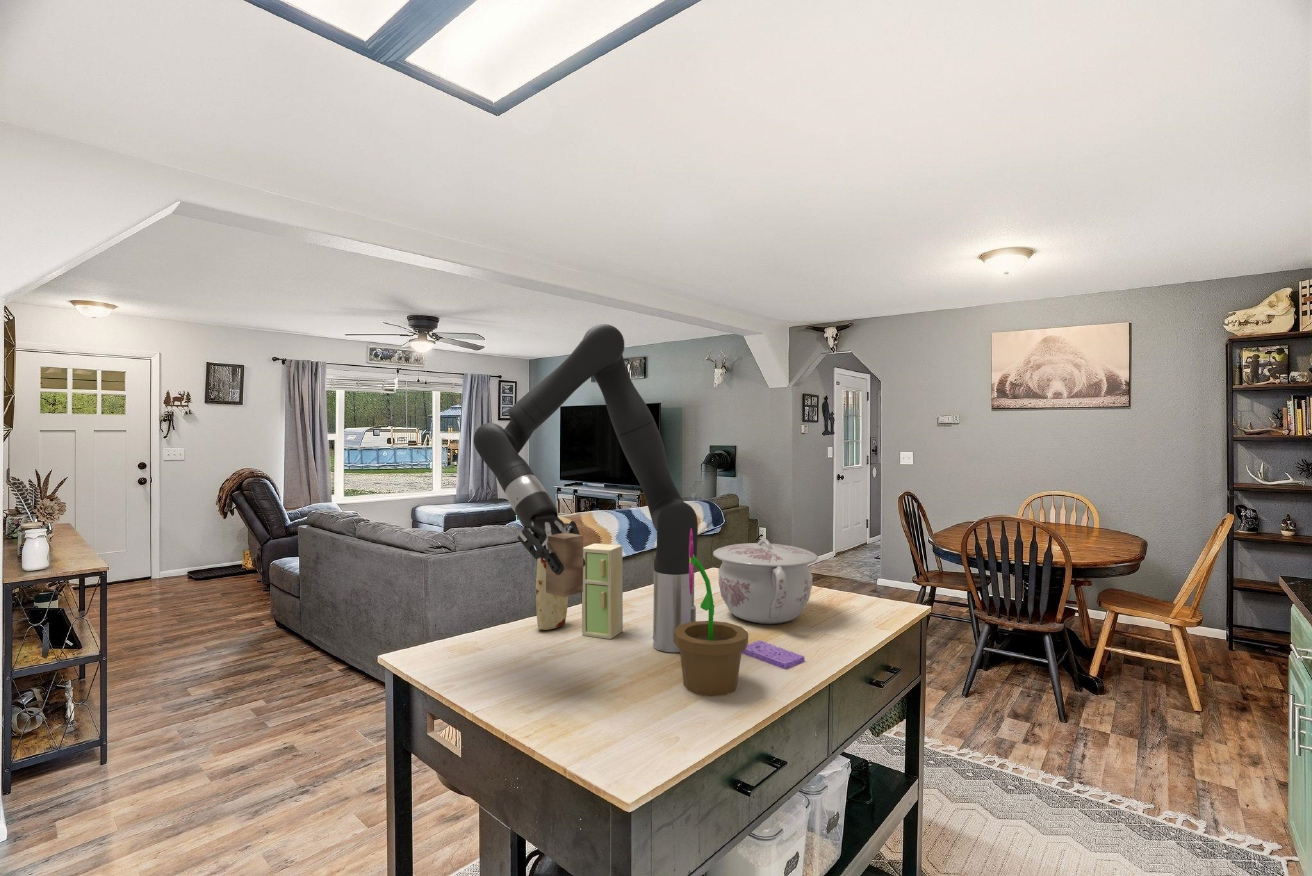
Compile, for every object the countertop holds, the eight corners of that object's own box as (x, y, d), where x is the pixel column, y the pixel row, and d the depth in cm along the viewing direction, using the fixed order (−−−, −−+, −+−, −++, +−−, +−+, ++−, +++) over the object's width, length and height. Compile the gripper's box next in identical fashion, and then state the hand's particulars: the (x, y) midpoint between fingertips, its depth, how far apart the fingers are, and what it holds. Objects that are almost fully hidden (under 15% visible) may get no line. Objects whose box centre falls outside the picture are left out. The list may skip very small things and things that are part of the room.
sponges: (759, 647, 142) (760, 639, 142) (805, 664, 132) (805, 655, 132) (739, 654, 137) (739, 646, 137) (784, 671, 128) (785, 662, 128)
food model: (548, 635, 148) (548, 551, 147) (528, 629, 151) (528, 548, 151) (575, 624, 156) (576, 545, 155) (555, 620, 159) (556, 542, 159)
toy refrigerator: (579, 636, 147) (580, 547, 147) (593, 627, 154) (594, 542, 154) (609, 640, 144) (610, 550, 144) (623, 631, 151) (623, 545, 151)
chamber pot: (742, 597, 183) (743, 527, 183) (833, 613, 167) (834, 537, 167) (691, 620, 160) (691, 540, 160) (790, 641, 144) (791, 553, 144)
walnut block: (565, 587, 124) (565, 532, 123) (582, 591, 120) (583, 535, 120) (545, 592, 120) (546, 535, 120) (563, 597, 117) (564, 538, 116)
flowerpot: (673, 669, 127) (674, 523, 127) (743, 671, 126) (745, 524, 126) (672, 700, 113) (674, 535, 112) (752, 701, 112) (753, 536, 112)
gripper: (510, 492, 119) (553, 564, 112) (565, 487, 130) (607, 552, 123) (493, 517, 122) (533, 588, 115) (548, 510, 133) (588, 574, 126)
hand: (571, 569), depth 119 cm, fingers closed on walnut block, 5 cm apart
